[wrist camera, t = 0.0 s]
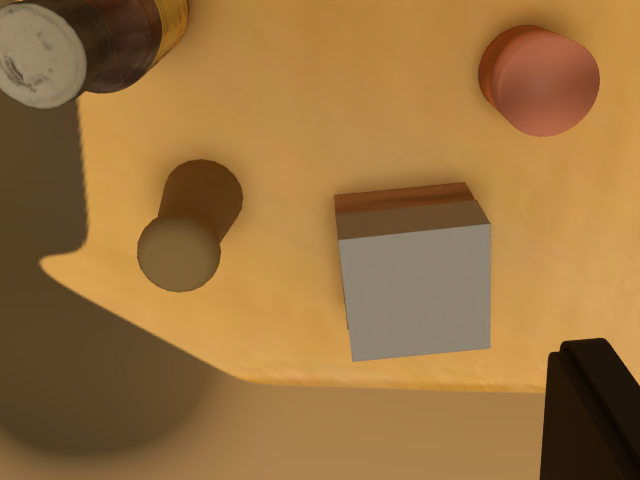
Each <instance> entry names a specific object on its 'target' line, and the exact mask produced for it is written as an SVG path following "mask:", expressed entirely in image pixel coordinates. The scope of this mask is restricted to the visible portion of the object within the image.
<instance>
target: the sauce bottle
mask: <svg viewBox="0 0 640 480" xmlns="http://www.w3.org/2000/svg"><path fill="white" fill-rule="evenodd" d="M188 12H189V9H188V4H187V0H23V1H19V2H14V3H11V4H8V5H6V6H3V7H2V8H0V88H1V89H2V90H3V92H5V93H6V94H8V95H9V96H10V97H11V98H13V99H14V100H16V101H18V102H20V103H22V104H25V105H27V106H31V107H36V108H39V109H49V108H55V107H58V106H61V105H64V104H66V103H68V102H70V101H72V100H74V99H76V98H77V97H79V96H80V95H81V94H82V93H84V92H85V91H88V92H93V93H113V92H117V91H120V90H123V89H125V88H127V87H129V86H131V85H132V84H134V83H135V82H137V81H138V80H139V79H140V78H141V77H142V76H144V75H145V74H146V73H147V72H148V71H149V70H150V69H151V68H153V67H154V66H155V65H156V64H157V63H158V62H159V61H160V60H161V59H162V58H163V57H164V56H165V55H166V54H168V53H169V52H170V51H171V50H172V49H173V48H174V47H175V46H176V45H177V44H178V42H179V41H180V39H181V38H182V36H183V34H184V32H185V29H186V25H187V18H188Z"/></svg>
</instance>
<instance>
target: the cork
mask: <svg viewBox="0 0 640 480" xmlns="http://www.w3.org/2000/svg"><path fill="white" fill-rule="evenodd" d="M242 201H243V195H242V190H241V186H240V184H239V182H238V181H237V179H236V177H235V176H234V175H233V174H232V173H231V172H230V171H229V170H228V169H227V168H226V167H224V166H222V165H220V164H218V163H216V162H214V161H208V160H202V159H200V160H193V161H188V162H186V163H184V164H182V165H180V166H178V167H177V168H176V169H175V170H174V171H173V172H172V173H171V174H170V175H169V178H168V180H167V182H166V184H165V188H164V192H163V196H162V200H161V205H160V209H159V213H158V217H157V218H155V219H154V220H152V221H151V222H150V223H149V224H148V225H147V226H146V227H145V229H144V230H143V232H142V234H141V236H140V239H139V241H138V249H137V259H138V262H139V266H140V269H141V270H142V271H143V273H144V274H145V276H146V277H147V278H148V279H149V280H150V281H151V282H152V283H154V284H155V285H156V286H158V287H160V288H162V289H165V290H167V291H173V292H186V291H192V290H195V289H197V288H199V287H202V286H203V285H204V284H205V283H206V282H207V281H209V280H210V279H211V278H212V277H213V275H214V274H215V272H216V270H217V268H218V266H219V262H220V254H221V249H220V242H221V241H222V239H223V238H224V236H225V235H226V233H227V232H228V230H229V229H230V227H231V226H232V224H233V223H234V221H235V220H236V218H237V216H238V214H239V212H240V210H241V209H242Z"/></svg>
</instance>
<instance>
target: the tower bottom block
mask: <svg viewBox="0 0 640 480" xmlns="http://www.w3.org/2000/svg"><path fill="white" fill-rule="evenodd" d="M334 198H335V215H336V224H337V215H346V214H355V213H364V212H373V211H382V210H391V209H400V208H409V207H418V206H427V205H436V204H445V203H455V202H464V201H473V200H475V199H474V197H473V195H472V194H471V192H470V190H469V189H468V187H467V185H466V184H465V182H463V183H453V184H443V185H433V186H423V187H413V188H403V189H393V190H383V191H373V192H364V193H354V194H344V195H334ZM337 234H338V232H337ZM340 262H341V261H340ZM341 271H342V269H341ZM342 281H343V277H342ZM343 290H344V286H343ZM344 300H345V294H344ZM345 309H346V302H345ZM346 319H347V311H346ZM347 328H348V330H349V327H348V319H347Z"/></svg>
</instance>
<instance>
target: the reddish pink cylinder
mask: <svg viewBox="0 0 640 480" xmlns="http://www.w3.org/2000/svg"><path fill="white" fill-rule="evenodd" d="M478 78H479V85H480V88H481V91H482V93H483V95H484V96H485V98H486V99H487V100H488V101H489V102H490V103H491V104H492V105H493V106H494V107H495V108H496V109H497V110H498V111H499V112H500V113H501V114H502V115H503V116H504V117H505V118H506V119H507V120H508V121H509V122H510V123H511V124H512V125H513V126H514V127H515V128H517V129H518V130H519V131H521V132H523V133H525V134H528V135H532V136H538V137H547V136H553V135H557V134H560V133H562V132H565V131H567V130H569V129H570V128H572V127H574V126H575V125H576V124H578V123H579V122H580V121H581V120H582V119H583V118H584V117H585V116H586V115H587V113H588V112H589V111H590V109H591V108H592V106H593V104H594V102H595V100H596V97H597V94H598V91H599V84H600V76H599V70H598V66H597V63H596V61H595V59H594V57H593V56H592V54H591V53H590V52H589V51H588V50H587V49H586V48H585V47H584V46H582V45H580V44H579V43H577V42H574V41H572V40H569V39H567V38H565V37H562V36H560V35H557V34H555V33H553V32H550V31H548V30H545V29H543V28H540V27H537V26H530V25H526V26H518V27H515V28H511V29H509V30H507V31H505V32H503V33H502V34H500V35H499V36H498V37H496V38H495V39H494V40H493V41H492V42H491V44H490V45H489V46H488V47H487V49H486V51H485V52H484V54H483V56H482V59H481V62H480V65H479V72H478Z"/></svg>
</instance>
